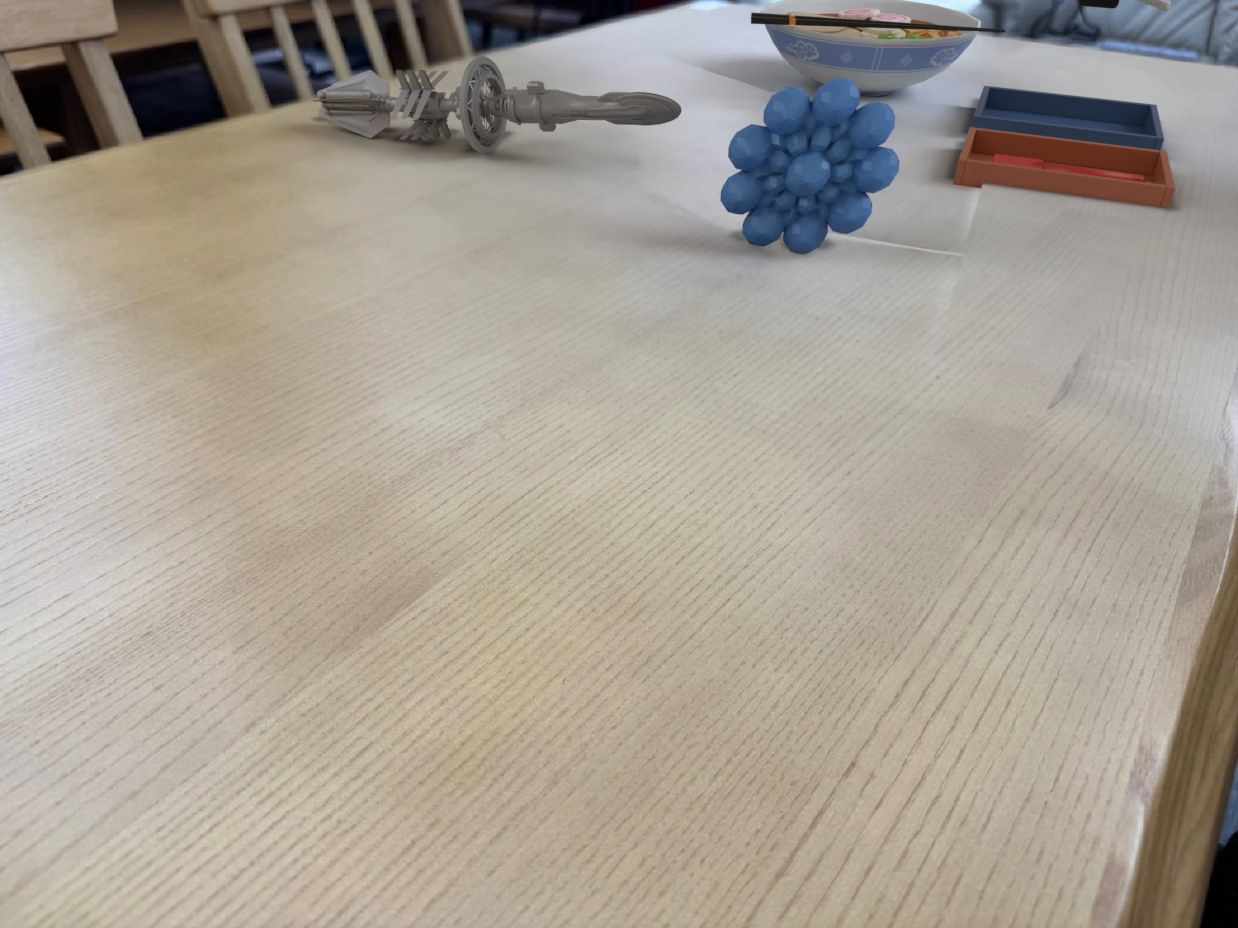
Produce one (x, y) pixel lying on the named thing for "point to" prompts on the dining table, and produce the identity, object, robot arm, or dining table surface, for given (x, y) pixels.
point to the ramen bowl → (868, 40)
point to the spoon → (1158, 4)
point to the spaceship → (479, 105)
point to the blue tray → (1069, 117)
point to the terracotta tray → (1065, 152)
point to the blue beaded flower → (810, 166)
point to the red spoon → (1064, 167)
